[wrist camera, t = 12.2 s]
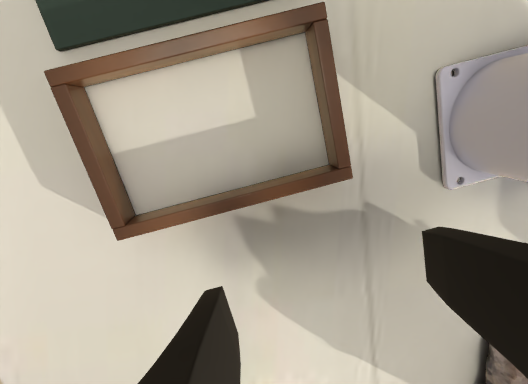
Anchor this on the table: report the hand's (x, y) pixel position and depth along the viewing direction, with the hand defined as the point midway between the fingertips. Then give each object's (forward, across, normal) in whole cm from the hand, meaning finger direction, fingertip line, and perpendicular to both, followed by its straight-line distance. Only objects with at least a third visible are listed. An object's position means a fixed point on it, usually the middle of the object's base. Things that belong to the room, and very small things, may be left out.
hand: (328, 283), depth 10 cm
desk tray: (+9, +3, -6) cm, 11 cm away
